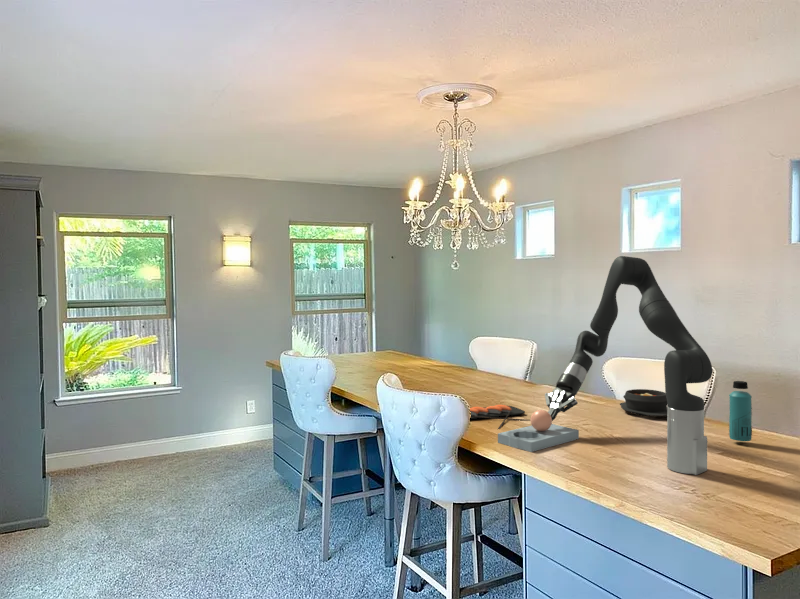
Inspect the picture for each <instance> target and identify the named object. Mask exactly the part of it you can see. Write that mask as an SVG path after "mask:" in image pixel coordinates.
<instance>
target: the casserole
mask: <svg viewBox="0 0 800 599" xmlns="http://www.w3.org/2000/svg"><path fill="white" fill-rule="evenodd" d="M622 397H623V398H624V400H625V402H620V403H619V405H620V408H621V409H622V410H624V411H627V412H629V413H631V414H634V415H637V416H641V415H642V417H667V398H666V393H665V391H661V390H656V389H655V390H654V389H646V388H644V389H643V388H640V389H636V388H634V389H628V390H625V393H624V395H623V396H622Z"/></svg>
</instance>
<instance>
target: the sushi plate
mask: <svg viewBox="0 0 800 599" xmlns="http://www.w3.org/2000/svg"><path fill="white" fill-rule="evenodd" d="M469 408H470V412H471V419H470V420H477V418H479V419H497V420H498V419H499V420H503V421H502V422H501V424H500V425H499V426H498V427H497V430H498V429H499V430H500V429H501V428H502V427H503V425H504V423H505V422H506V420H508V421H519V420H520V422H521V421H530V419H527V418H526V419H525V418H523V419H522V418H512V417H511V418H508V417H510V415H511V416H517V415H524V414H525V413H526V412H525V410H523V409H521V408H518V407H515V406H512V405H505V404H496V405H490V406H485V407H483V406H472V407H469ZM499 416H500V417H499ZM530 422H531V421H530ZM501 426H502V427H501Z"/></svg>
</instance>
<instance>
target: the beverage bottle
mask: <svg viewBox="0 0 800 599" xmlns="http://www.w3.org/2000/svg"><path fill="white" fill-rule="evenodd" d="M732 388H733V389H738V390H733V391H732V392H731V393H729V419H728V422H729V424H728V426H729V427H728V435H729V438H730V439H731V440H733V441H737V442H751V441H752V438H753V437H752V436H753V426H752V424H753V421H752V420H753V419H752V416H753V411H752V410H753V407H752V399H753V398H752V395H751V394H750V393H749V392H748V391H743V390H747V389H749V387H748V382H747V381H742V380H735V381H733V385H732Z"/></svg>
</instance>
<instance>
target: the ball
mask: <svg viewBox="0 0 800 599" xmlns="http://www.w3.org/2000/svg"><path fill="white" fill-rule="evenodd" d="M529 420H530V424H531V425H530V426H533V428H534V429H536V430H538V431H546V430H548V429H549V428H550V427H551V425H552V424H553V421H552V418H551V415H550V414H549V413H548V411H547V410H545V409H544V410H543V409H537V410H535V411H534V412H533V413H532V414H531V416H530V419H529Z"/></svg>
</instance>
